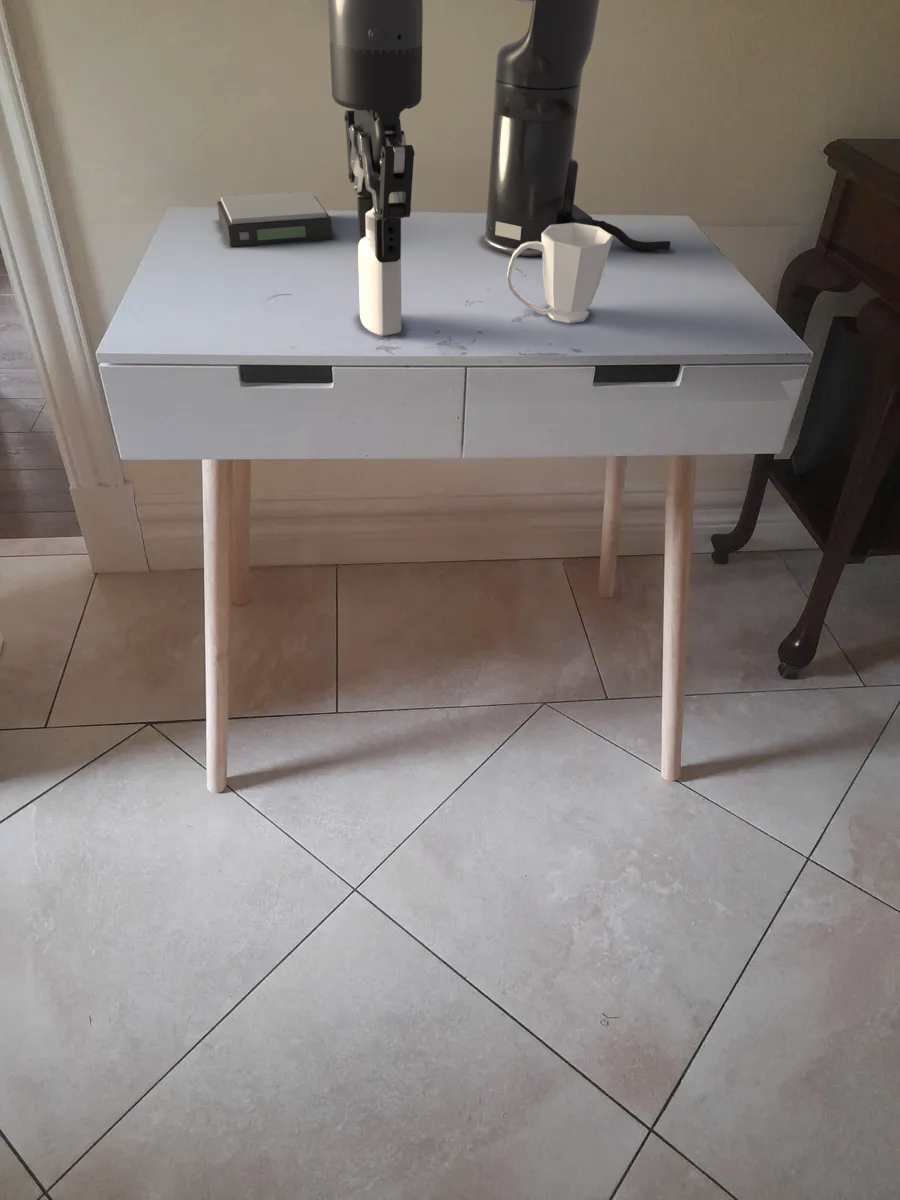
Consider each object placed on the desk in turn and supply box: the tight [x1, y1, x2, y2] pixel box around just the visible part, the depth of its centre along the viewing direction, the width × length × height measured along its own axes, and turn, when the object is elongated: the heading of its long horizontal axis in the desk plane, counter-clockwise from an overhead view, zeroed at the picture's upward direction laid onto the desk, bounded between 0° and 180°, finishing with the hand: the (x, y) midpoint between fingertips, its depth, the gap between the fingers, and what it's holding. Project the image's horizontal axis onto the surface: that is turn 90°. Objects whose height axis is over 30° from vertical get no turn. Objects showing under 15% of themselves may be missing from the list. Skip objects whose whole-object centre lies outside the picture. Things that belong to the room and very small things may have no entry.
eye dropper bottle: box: [357, 207, 402, 337], centre depth 84 cm, size 4×6×12 cm
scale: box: [216, 190, 333, 248], centre depth 106 cm, size 12×9×3 cm
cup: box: [506, 223, 614, 324], centre depth 89 cm, size 7×10×8 cm
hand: (378, 248), depth 83 cm, fingers closed on eye dropper bottle, 5 cm apart
